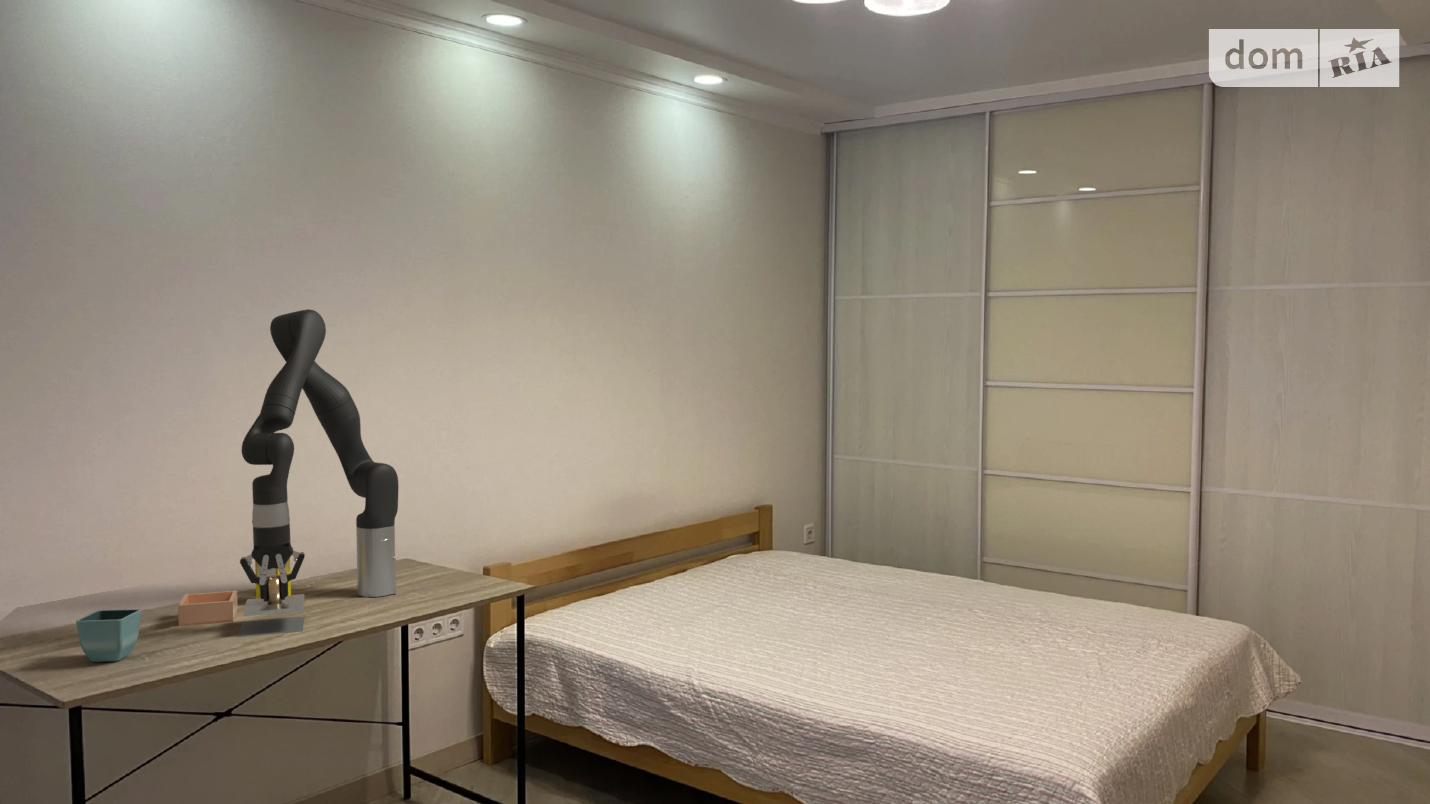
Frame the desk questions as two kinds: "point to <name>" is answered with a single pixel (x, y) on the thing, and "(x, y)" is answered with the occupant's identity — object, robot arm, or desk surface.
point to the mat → (271, 626)
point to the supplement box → (271, 572)
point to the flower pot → (109, 633)
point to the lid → (274, 600)
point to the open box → (207, 608)
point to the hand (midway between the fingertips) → (274, 599)
